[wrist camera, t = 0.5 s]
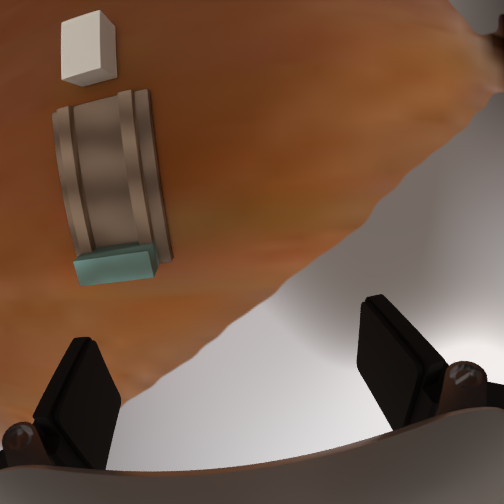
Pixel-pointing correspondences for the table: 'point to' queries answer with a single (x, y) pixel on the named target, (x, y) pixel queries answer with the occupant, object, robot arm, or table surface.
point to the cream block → (88, 49)
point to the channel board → (112, 188)
